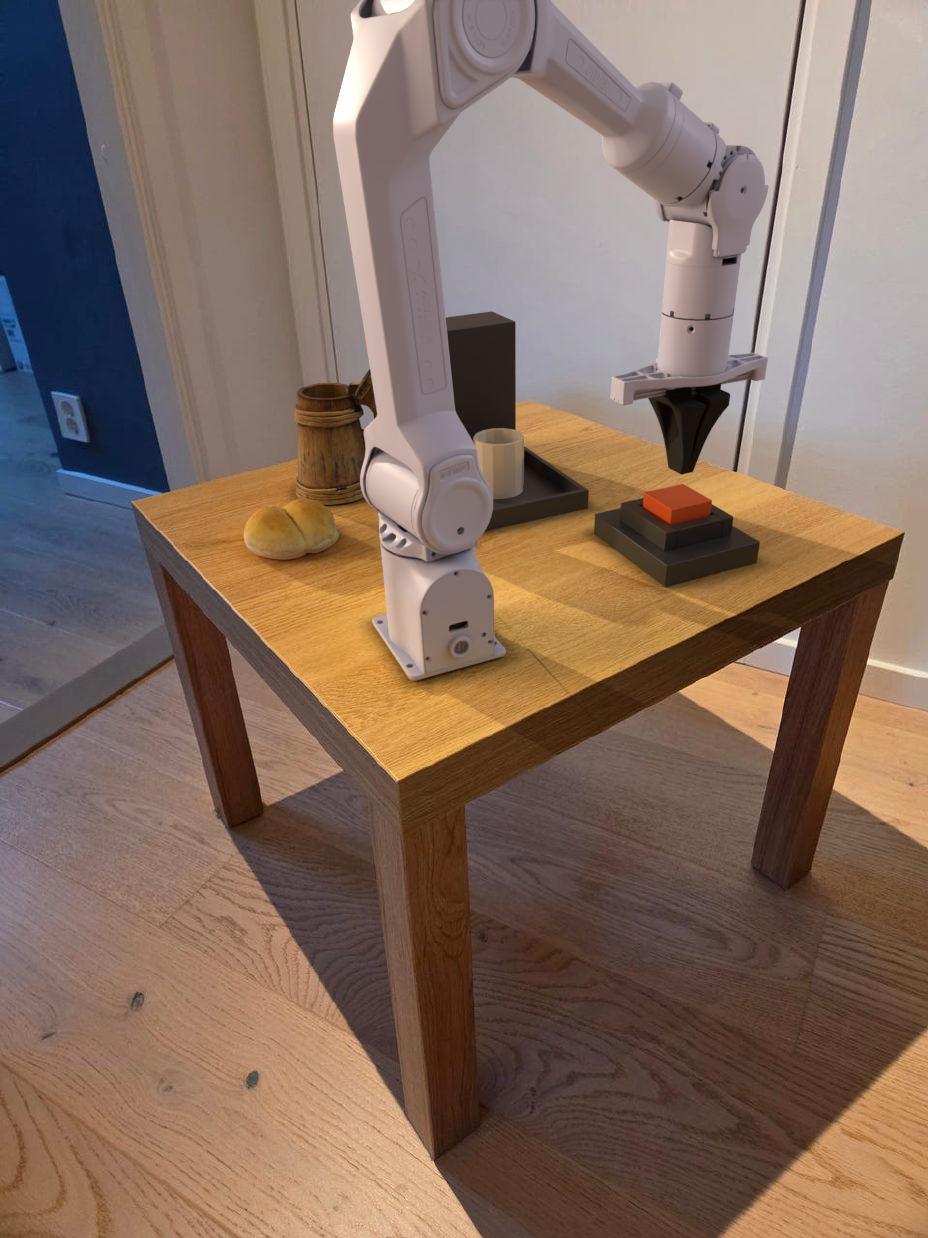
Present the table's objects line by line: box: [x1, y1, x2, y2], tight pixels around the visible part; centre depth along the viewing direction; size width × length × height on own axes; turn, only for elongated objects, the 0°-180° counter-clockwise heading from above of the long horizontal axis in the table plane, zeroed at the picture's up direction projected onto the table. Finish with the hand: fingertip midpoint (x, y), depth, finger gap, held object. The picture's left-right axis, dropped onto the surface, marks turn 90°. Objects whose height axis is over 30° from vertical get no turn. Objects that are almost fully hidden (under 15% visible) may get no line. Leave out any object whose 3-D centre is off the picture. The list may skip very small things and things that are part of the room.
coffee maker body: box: [445, 310, 517, 441], centre depth 97 cm, size 6×12×16 cm, turn 114°
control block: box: [593, 497, 761, 588], centre depth 80 cm, size 12×10×4 cm
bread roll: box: [243, 498, 340, 561], centre depth 83 cm, size 8×9×4 cm
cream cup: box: [473, 428, 525, 499], centre depth 91 cm, size 5×5×6 cm
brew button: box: [643, 483, 713, 525], centre depth 78 cm, size 4×4×2 cm
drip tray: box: [484, 445, 590, 533], centre depth 92 cm, size 15×13×2 cm
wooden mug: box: [294, 368, 377, 506], centre depth 90 cm, size 9×14×18 cm, turn 82°
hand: (680, 469), depth 76 cm, fingers closed
